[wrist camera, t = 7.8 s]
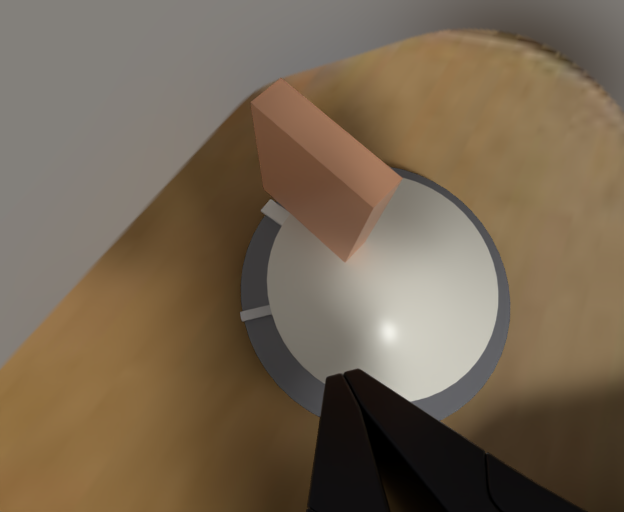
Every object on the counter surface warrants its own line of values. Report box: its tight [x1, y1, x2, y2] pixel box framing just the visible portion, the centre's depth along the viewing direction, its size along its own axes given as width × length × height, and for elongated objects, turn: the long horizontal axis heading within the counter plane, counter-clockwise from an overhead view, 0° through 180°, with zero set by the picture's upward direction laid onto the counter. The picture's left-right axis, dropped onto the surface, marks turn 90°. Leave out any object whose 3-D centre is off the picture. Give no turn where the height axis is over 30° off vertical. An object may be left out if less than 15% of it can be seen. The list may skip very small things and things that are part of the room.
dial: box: [250, 78, 498, 402], centre depth 16 cm, size 14×12×8 cm
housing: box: [240, 167, 510, 421], centre depth 21 cm, size 15×15×1 cm
